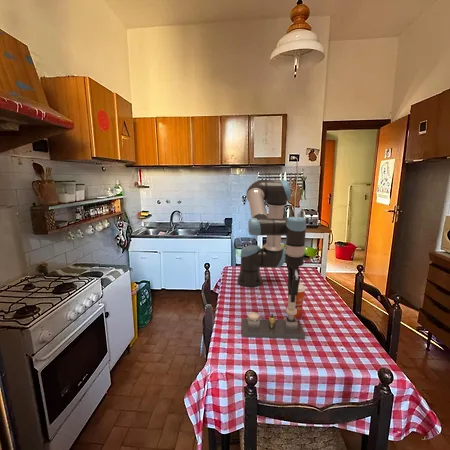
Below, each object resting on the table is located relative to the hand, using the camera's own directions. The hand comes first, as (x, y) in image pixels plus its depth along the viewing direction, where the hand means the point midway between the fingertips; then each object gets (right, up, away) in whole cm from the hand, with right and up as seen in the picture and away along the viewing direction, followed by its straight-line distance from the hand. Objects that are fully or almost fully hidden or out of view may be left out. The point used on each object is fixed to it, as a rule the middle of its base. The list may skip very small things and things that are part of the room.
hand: (291, 307), depth 114 cm
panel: (-8, -10, +2) cm, 13 cm away
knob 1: (-16, -8, +2) cm, 18 cm away
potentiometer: (-8, -8, +2) cm, 12 cm away
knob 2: (0, -5, +1) cm, 6 cm away
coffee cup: (+5, -8, +16) cm, 19 cm away
